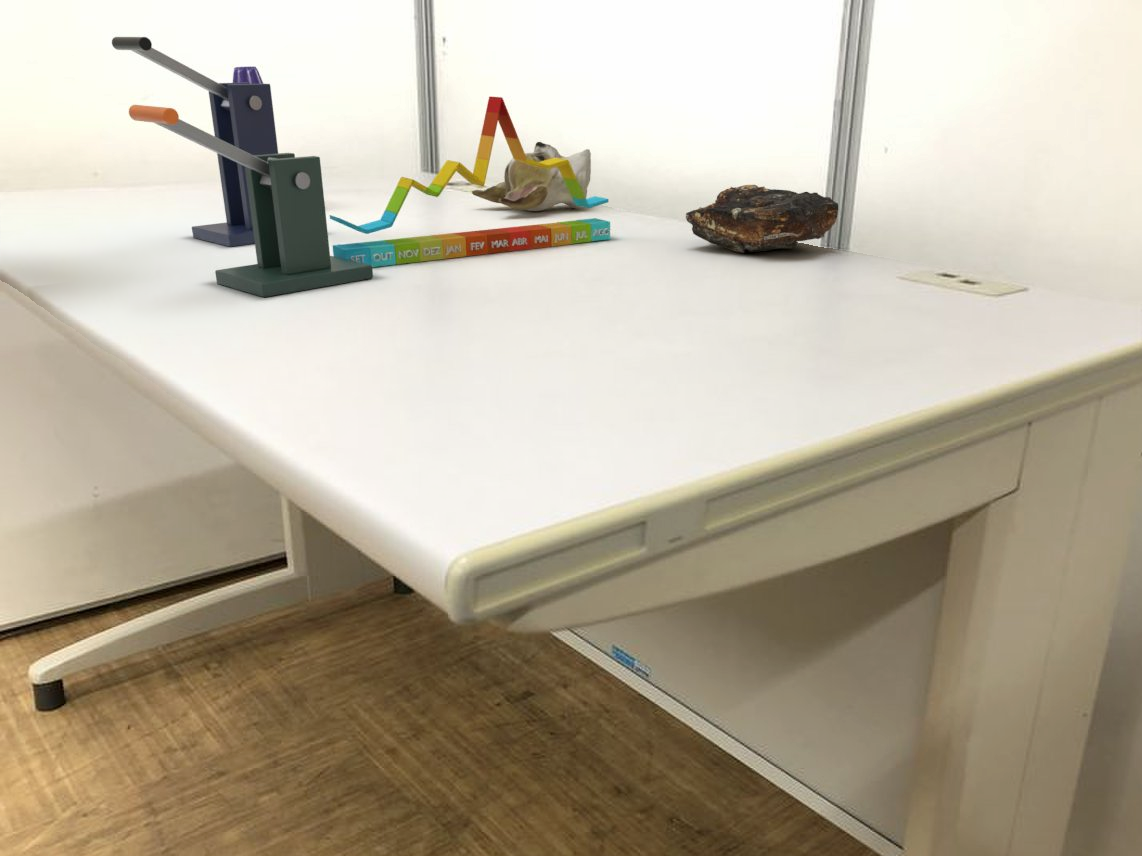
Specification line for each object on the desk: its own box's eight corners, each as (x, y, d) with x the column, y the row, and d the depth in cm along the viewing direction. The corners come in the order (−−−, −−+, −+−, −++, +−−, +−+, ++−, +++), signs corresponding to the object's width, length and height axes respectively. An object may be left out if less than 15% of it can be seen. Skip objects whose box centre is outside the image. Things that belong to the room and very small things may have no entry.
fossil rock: (855, 245, 114) (859, 189, 112) (791, 264, 104) (794, 203, 102) (746, 232, 122) (748, 180, 120) (676, 250, 112) (677, 193, 110)
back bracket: (230, 246, 111) (207, 85, 105) (193, 237, 116) (169, 83, 110) (322, 234, 118) (306, 83, 112) (283, 226, 123) (266, 81, 117)
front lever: (159, 127, 80) (169, 97, 80) (123, 123, 84) (133, 94, 84) (312, 200, 91) (321, 174, 91) (275, 194, 95) (283, 168, 95)
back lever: (135, 52, 100) (143, 28, 100) (108, 51, 104) (115, 28, 104) (263, 120, 111) (271, 98, 111) (234, 117, 115) (241, 96, 115)
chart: (347, 270, 100) (330, 102, 94) (334, 265, 102) (317, 100, 96) (611, 239, 116) (611, 95, 111) (595, 235, 119) (594, 93, 113)
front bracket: (264, 297, 89) (246, 164, 85) (216, 283, 94) (198, 157, 90) (373, 278, 97) (362, 155, 93) (324, 266, 102) (312, 149, 97)
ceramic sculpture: (608, 139, 132) (496, 151, 125) (612, 210, 135) (503, 225, 129) (570, 133, 141) (464, 145, 134) (575, 200, 144) (472, 214, 138)
